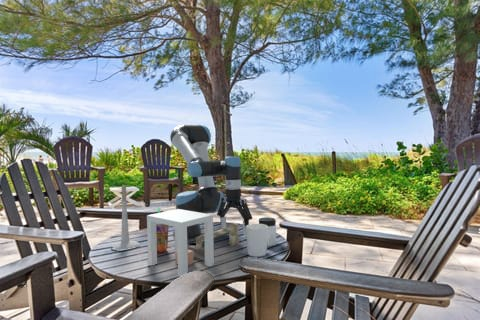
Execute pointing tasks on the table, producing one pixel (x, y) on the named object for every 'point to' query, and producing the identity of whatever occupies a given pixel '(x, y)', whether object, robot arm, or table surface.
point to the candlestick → (125, 226)
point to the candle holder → (256, 239)
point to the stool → (180, 235)
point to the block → (190, 257)
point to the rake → (233, 234)
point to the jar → (270, 229)
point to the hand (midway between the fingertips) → (234, 232)
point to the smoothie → (161, 236)
